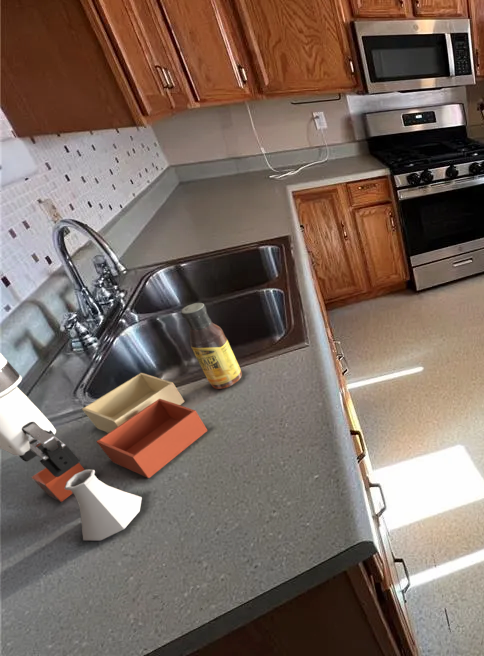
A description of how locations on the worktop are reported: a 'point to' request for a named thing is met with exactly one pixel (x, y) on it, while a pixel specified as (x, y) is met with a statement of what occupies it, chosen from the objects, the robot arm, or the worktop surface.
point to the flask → (102, 506)
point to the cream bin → (130, 401)
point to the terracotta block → (56, 482)
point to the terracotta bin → (152, 437)
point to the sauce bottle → (211, 348)
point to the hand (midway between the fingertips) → (52, 461)
